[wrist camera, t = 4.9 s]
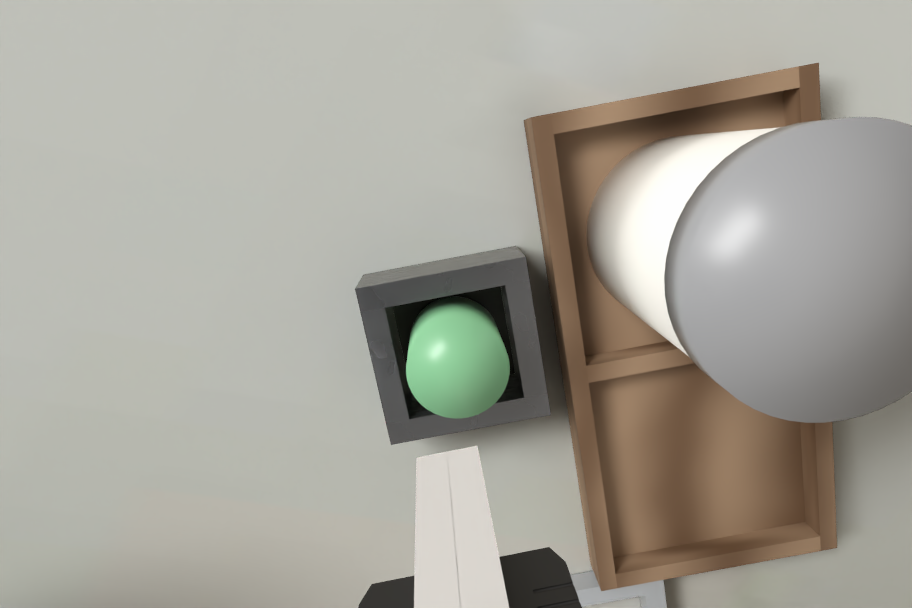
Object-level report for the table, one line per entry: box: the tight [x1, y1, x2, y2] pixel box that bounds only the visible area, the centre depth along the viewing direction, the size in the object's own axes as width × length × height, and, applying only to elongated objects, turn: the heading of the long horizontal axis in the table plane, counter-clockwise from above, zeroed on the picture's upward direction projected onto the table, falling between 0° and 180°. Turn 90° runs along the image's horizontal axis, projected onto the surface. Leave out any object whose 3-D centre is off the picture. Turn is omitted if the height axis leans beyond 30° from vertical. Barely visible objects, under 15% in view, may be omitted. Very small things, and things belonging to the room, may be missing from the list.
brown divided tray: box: [524, 63, 837, 591], centre depth 28 cm, size 12×22×2 cm, turn 10°
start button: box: [406, 297, 510, 418], centre depth 25 cm, size 4×4×4 cm
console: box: [355, 246, 551, 445], centre depth 27 cm, size 7×7×3 cm
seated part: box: [586, 117, 912, 423], centre depth 21 cm, size 8×8×11 cm
